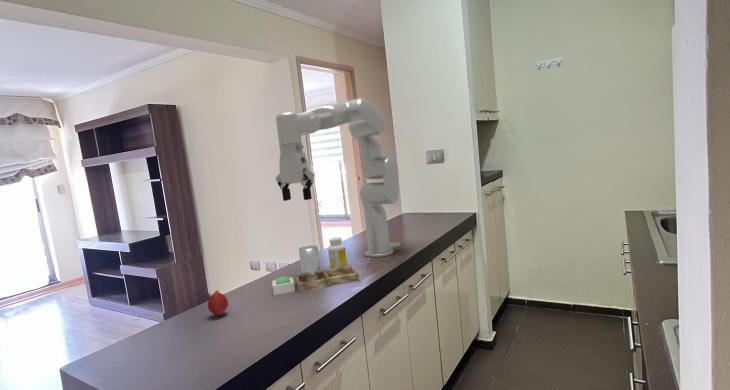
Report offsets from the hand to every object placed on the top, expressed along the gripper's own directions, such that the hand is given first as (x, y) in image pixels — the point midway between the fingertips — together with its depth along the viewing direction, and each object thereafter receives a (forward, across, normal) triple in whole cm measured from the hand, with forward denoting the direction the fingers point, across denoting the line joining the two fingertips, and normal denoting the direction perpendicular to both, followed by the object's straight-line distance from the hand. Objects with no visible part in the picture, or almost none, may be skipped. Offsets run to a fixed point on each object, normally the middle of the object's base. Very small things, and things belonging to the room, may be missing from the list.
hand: (297, 199), depth 133 cm
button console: (+31, +5, +7) cm, 32 cm away
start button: (+31, +5, +7) cm, 32 cm away
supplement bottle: (+31, +1, -20) cm, 37 cm away
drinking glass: (+30, -1, -1) cm, 30 cm away
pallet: (+31, -4, -5) cm, 32 cm away
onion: (+32, +11, +28) cm, 44 cm away
